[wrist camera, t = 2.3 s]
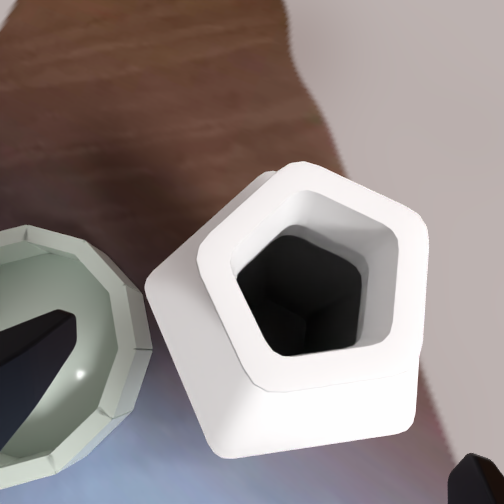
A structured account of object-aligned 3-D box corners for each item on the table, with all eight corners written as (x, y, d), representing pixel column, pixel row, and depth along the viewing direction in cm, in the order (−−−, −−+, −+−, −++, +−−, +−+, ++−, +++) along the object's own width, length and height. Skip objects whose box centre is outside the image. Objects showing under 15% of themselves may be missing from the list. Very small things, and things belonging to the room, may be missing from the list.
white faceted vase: (200, 363, 18) (-51, 394, 3) (246, 279, 19) (206, 16, 4) (291, 414, 17) (471, 728, 3) (334, 324, 18) (634, 198, 4)
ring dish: (103, 500, 16) (76, 525, 14) (-110, 430, 17) (-169, 442, 15) (178, 274, 19) (166, 262, 16) (-12, 222, 20) (-50, 203, 17)
